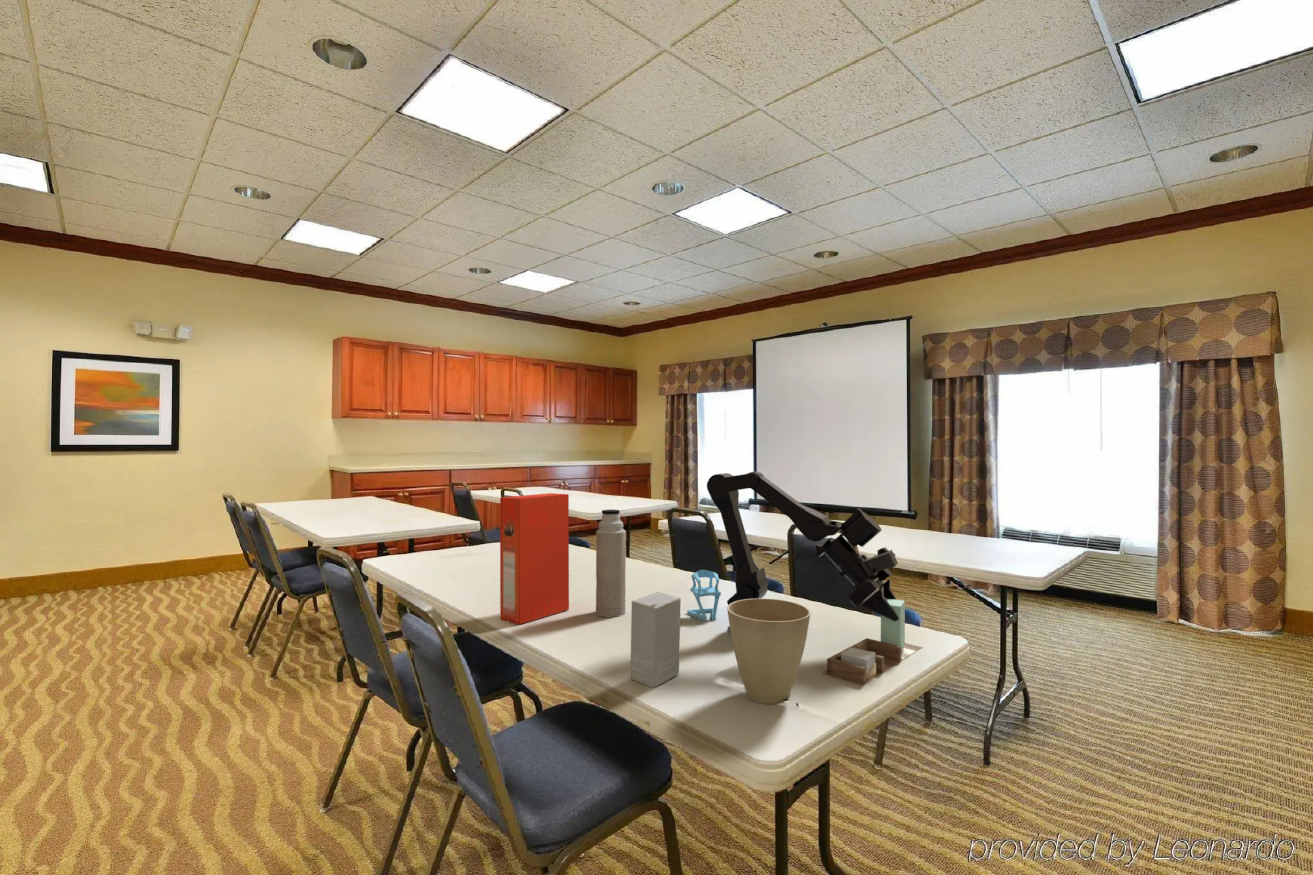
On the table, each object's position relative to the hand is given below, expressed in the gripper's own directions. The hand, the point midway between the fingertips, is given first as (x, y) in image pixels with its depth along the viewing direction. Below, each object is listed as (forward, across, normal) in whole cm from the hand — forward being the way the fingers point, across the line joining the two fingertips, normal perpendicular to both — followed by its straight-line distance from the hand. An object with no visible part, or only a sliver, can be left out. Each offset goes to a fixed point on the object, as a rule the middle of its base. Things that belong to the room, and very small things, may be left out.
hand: (899, 616), depth 130 cm
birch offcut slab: (+2, -17, +9) cm, 19 cm away
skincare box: (-21, -37, +34) cm, 55 cm away
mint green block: (+4, 0, +6) cm, 7 cm away
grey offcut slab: (+1, -17, +8) cm, 19 cm away
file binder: (-56, -17, +70) cm, 91 cm away
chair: (-28, +6, +42) cm, 51 cm away
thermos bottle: (-45, -5, +58) cm, 74 cm away
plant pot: (-6, -34, +18) cm, 39 cm away
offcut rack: (+4, -7, +9) cm, 12 cm away
